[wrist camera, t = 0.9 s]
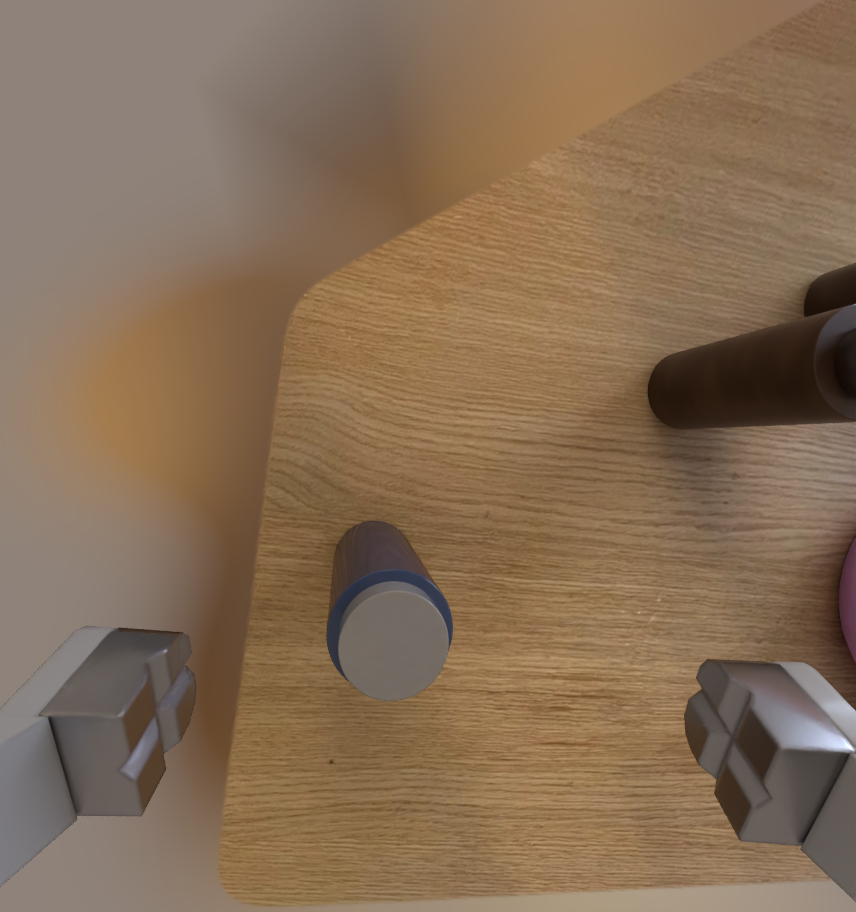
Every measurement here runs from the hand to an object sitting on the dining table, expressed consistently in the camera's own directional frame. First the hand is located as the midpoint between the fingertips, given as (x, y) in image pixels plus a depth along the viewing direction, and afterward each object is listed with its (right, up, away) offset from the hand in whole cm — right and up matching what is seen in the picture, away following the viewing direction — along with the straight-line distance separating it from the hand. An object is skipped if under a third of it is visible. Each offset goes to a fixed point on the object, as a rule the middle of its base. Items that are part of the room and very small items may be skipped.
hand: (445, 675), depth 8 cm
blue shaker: (-3, -2, +20) cm, 20 cm away
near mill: (+16, +8, +23) cm, 29 cm away
